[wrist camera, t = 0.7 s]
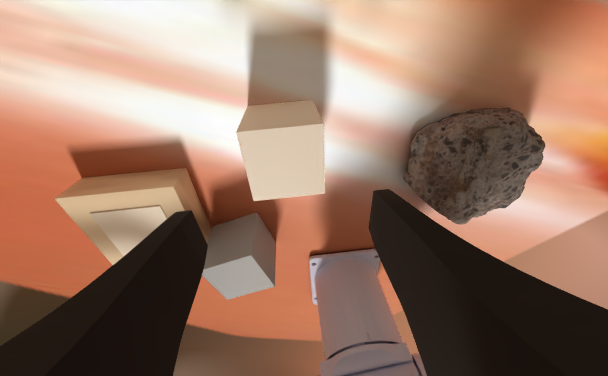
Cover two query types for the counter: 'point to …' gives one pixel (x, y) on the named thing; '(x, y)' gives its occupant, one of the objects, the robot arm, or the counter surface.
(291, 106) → the ivory cube
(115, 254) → the maple slab
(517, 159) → the rock
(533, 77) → the counter surface
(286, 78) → the counter surface
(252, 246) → the slate cube
